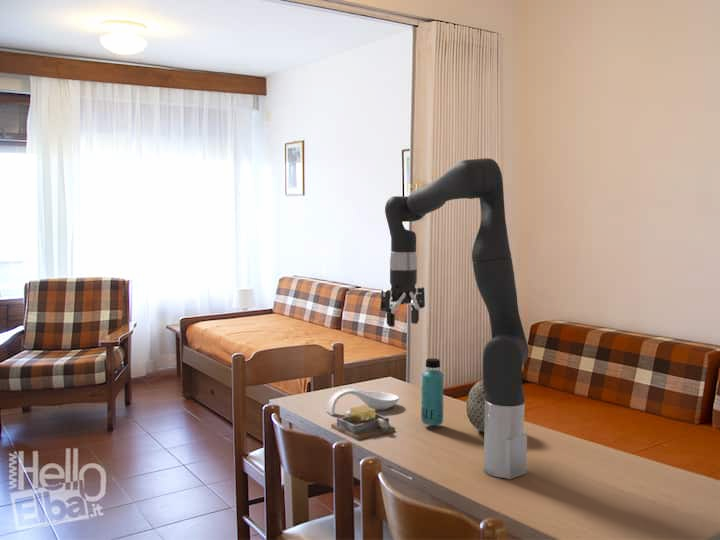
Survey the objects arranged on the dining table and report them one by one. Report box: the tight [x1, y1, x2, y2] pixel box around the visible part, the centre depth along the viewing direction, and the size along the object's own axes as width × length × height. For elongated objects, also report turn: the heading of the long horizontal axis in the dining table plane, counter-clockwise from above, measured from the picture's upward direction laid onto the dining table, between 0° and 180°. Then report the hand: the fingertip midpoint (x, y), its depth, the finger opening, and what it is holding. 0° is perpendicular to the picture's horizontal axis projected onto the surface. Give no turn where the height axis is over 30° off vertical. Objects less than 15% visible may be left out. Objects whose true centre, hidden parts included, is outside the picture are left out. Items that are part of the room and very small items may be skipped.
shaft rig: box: [330, 410, 396, 441], centre depth 188 cm, size 15×13×4 cm
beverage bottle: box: [420, 357, 445, 426], centre depth 190 cm, size 6×7×20 cm
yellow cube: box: [350, 404, 376, 425], centre depth 188 cm, size 5×5×5 cm
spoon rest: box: [325, 388, 400, 416], centre depth 207 cm, size 24×12×7 cm, turn 116°
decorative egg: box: [465, 379, 485, 433], centre depth 186 cm, size 12×12×15 cm
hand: (402, 324), depth 187 cm, fingers open, 8 cm apart
